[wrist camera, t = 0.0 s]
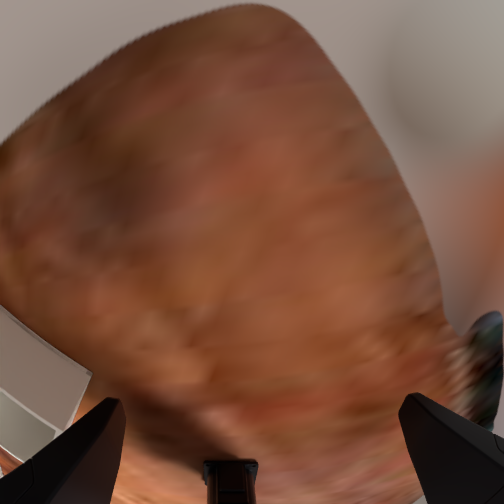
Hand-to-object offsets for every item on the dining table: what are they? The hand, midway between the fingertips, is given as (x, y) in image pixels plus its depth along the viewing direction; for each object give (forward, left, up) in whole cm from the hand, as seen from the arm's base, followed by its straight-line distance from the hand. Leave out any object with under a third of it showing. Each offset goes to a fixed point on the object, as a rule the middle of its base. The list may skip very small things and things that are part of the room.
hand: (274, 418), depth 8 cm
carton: (-15, +22, -15) cm, 31 cm away
